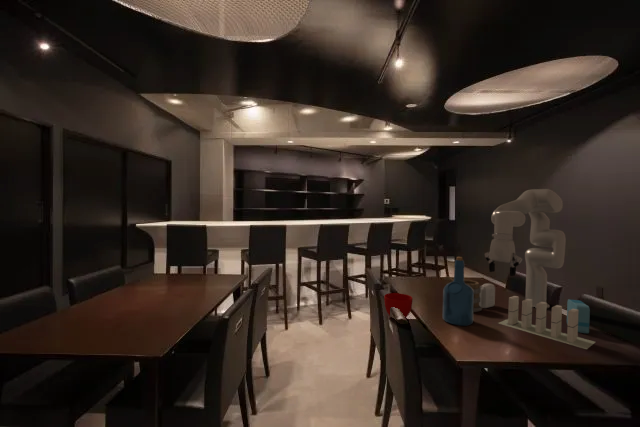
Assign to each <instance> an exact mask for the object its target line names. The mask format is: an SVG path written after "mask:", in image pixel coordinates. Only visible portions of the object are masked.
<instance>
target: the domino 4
mask: <svg viewBox="0 0 640 427" xmlns="http://www.w3.org/2000/svg"><path fill="white" fill-rule="evenodd" d="M562 314H563V305H559V304H556V305H554V306H552V307H551V315H550V316H551V317H550V318H551V320H550V329H551V337H555V338H556V337H558V336H560V335H561V333H562V323H563V322H562V320H563V319H562V316H563V315H562Z"/></svg>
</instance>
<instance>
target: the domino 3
mask: <svg viewBox="0 0 640 427" xmlns="http://www.w3.org/2000/svg"><path fill="white" fill-rule="evenodd" d="M547 304H548V303H547V302H546V303H545V302H540V303H538V304H536V308H535V311H536V312H535V325H536V332H537V333H542V332H544V331H545V330H546V328H547V309H548V308H547Z"/></svg>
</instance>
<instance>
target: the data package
mask: <svg viewBox="0 0 640 427" xmlns="http://www.w3.org/2000/svg"><path fill="white" fill-rule="evenodd" d="M566 306H567V307H566V324H567V326H568V311H569V310H571V309H577V310H579V311H578V334H579V333H581V334H586V335H587V334H589V333H590V315H591V314H590V313H591V310H590V306H589V305H587V304H586V303H585V302H583V301H582V300H578V299H570V298H569V299H567V304H566Z"/></svg>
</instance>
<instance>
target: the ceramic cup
mask: <svg viewBox="0 0 640 427" xmlns="http://www.w3.org/2000/svg"><path fill="white" fill-rule="evenodd" d="M383 297H384V307H385V311H386V314H388V315H389V317H390V308H391V307H395V308H398V309H400V311H401V312H402V313H403V315H404V316H405V317H406V318H407V317H409V315H410V313H411V311H412V307H413V300H414V299H413V296H411V295H408V294H406V293H405V294H404V293H400V292H399V293H398V292H389V293H386V294H385V295H384V296H383Z"/></svg>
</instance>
